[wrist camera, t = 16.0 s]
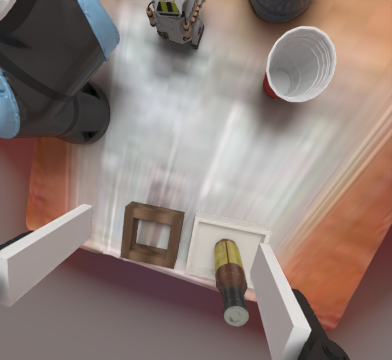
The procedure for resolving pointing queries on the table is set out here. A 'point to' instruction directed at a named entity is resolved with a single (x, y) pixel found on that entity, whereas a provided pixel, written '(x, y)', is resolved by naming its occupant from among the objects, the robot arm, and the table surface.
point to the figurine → (177, 20)
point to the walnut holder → (145, 252)
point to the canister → (279, 9)
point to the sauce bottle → (231, 281)
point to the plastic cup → (300, 65)
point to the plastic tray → (215, 231)
